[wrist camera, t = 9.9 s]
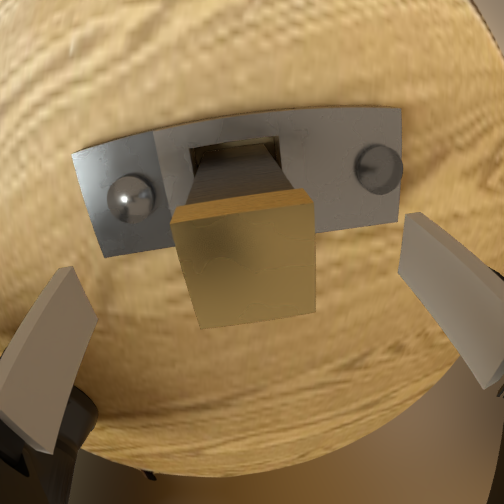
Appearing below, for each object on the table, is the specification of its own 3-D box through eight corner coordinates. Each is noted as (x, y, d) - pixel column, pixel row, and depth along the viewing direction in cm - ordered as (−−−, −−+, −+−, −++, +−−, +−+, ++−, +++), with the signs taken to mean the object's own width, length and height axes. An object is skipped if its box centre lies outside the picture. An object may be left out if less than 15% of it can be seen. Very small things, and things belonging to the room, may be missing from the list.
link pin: (211, 207, 23) (200, 329, 12) (201, 149, 20) (169, 224, 9) (271, 199, 23) (315, 312, 12) (264, 140, 21) (313, 202, 9)
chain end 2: (184, 238, 24) (180, 257, 21) (160, 127, 19) (150, 132, 17) (384, 210, 24) (401, 225, 21) (385, 106, 19) (405, 109, 17)
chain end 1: (108, 250, 24) (102, 261, 22) (78, 150, 19) (67, 155, 18) (295, 221, 24) (300, 231, 22) (286, 108, 19) (291, 109, 18)
